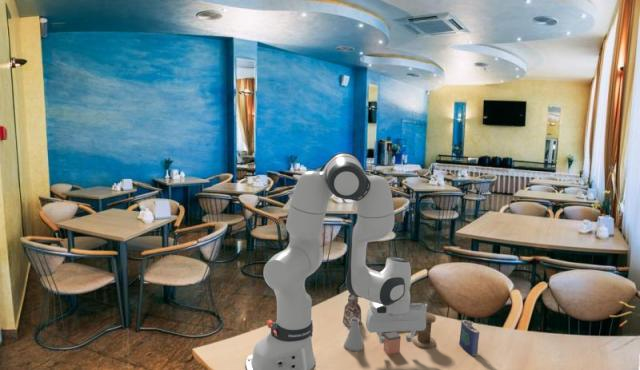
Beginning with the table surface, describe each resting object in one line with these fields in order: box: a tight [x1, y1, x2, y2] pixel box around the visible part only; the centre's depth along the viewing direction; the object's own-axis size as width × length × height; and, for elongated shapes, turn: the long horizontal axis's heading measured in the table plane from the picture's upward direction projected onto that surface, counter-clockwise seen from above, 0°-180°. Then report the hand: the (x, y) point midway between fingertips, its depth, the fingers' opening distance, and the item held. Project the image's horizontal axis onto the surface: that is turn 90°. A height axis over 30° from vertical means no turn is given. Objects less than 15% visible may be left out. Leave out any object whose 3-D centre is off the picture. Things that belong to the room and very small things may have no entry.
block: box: [383, 331, 402, 355], centre depth 143 cm, size 4×3×6 cm
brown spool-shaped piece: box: [411, 311, 437, 349], centre depth 149 cm, size 8×8×10 cm
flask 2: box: [458, 319, 480, 358], centre depth 145 cm, size 9×3×11 cm, turn 13°
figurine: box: [342, 293, 362, 327], centre depth 162 cm, size 7×7×12 cm
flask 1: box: [343, 318, 365, 352], centre depth 145 cm, size 7×7×10 cm
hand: (395, 342), depth 142 cm, fingers open, 8 cm apart
